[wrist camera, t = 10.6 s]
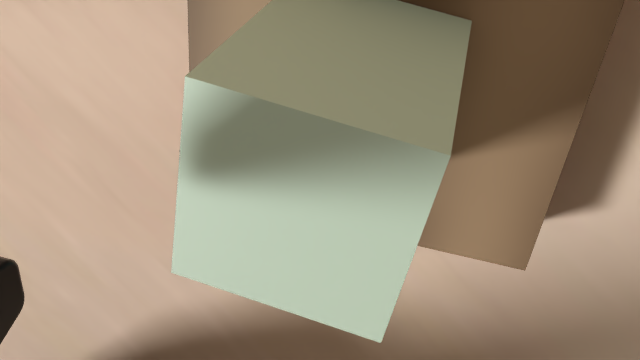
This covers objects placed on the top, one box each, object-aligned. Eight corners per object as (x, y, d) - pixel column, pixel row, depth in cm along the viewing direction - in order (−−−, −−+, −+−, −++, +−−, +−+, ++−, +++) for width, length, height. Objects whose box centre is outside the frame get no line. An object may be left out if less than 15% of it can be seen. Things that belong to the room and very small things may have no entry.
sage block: (276, 123, 18) (171, 273, 13) (302, -26, 16) (185, 76, 10) (421, 167, 18) (380, 343, 12) (471, 20, 15) (450, 155, 10)
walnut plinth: (225, 151, 23) (192, 193, 21) (229, -187, 17) (182, -185, 15) (522, 216, 21) (524, 270, 19) (643, -137, 15) (670, -124, 13)
